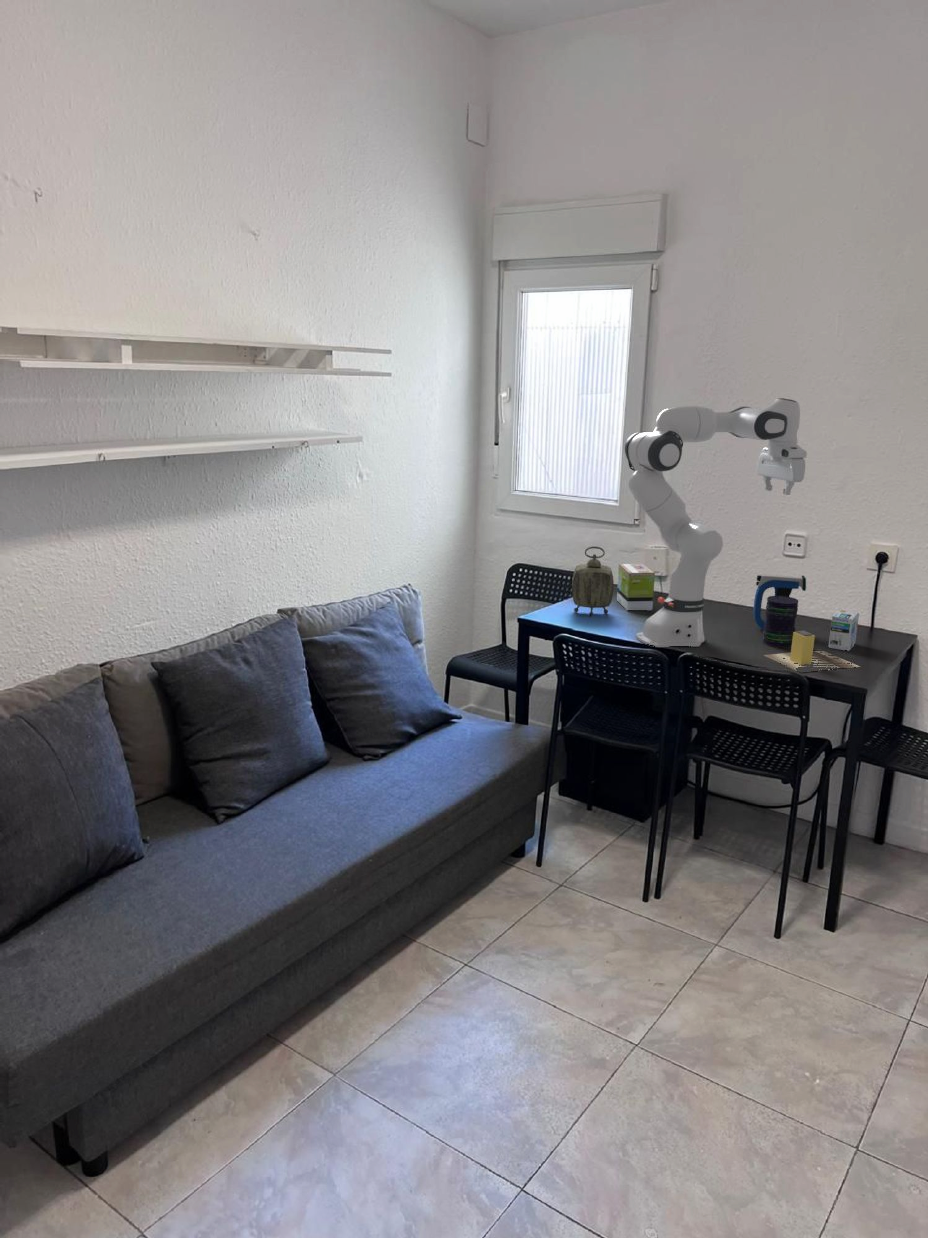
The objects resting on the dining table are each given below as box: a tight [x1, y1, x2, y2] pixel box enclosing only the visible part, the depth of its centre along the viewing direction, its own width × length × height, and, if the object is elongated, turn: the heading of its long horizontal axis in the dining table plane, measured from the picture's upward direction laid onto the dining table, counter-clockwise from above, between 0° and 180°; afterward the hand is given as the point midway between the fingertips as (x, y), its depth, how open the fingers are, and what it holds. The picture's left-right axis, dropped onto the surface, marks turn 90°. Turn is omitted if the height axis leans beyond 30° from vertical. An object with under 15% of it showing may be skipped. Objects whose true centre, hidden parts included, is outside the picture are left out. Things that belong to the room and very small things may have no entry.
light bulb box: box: [827, 609, 860, 652], centre depth 306 cm, size 11×7×11 cm, turn 148°
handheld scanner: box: [752, 574, 807, 631], centre depth 321 cm, size 5×16×20 cm, turn 79°
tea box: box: [616, 563, 656, 611], centre depth 350 cm, size 15×10×15 cm
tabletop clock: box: [571, 546, 615, 617], centre depth 335 cm, size 14×9×25 cm, turn 84°
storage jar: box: [762, 595, 799, 649], centre depth 307 cm, size 10×10×15 cm
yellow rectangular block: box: [790, 630, 816, 665], centre depth 288 cm, size 4×5×9 cm
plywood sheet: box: [763, 650, 861, 672], centre depth 291 cm, size 22×18×1 cm
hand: (777, 492), depth 308 cm, fingers open, 8 cm apart
